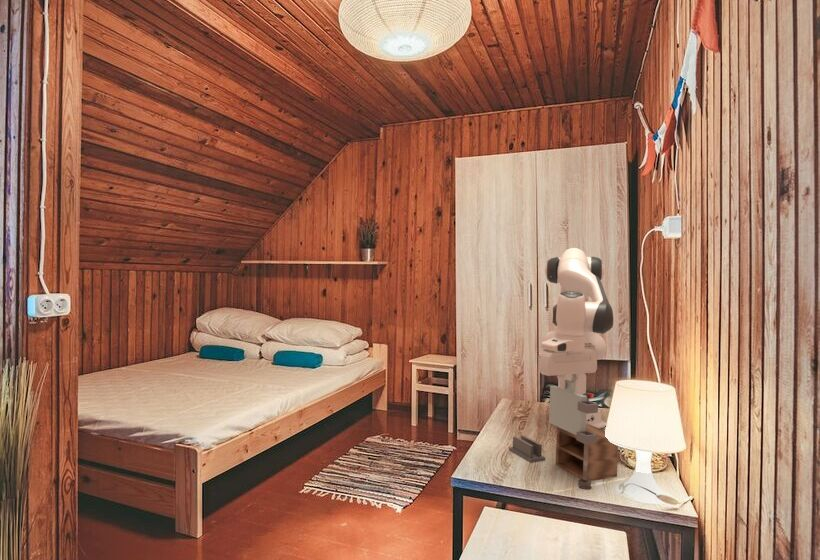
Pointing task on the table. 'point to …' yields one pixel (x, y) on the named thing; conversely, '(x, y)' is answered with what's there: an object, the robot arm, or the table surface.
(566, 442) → the cabinet
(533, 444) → the door stand
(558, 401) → the door
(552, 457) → the table surface
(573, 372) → the robot arm
